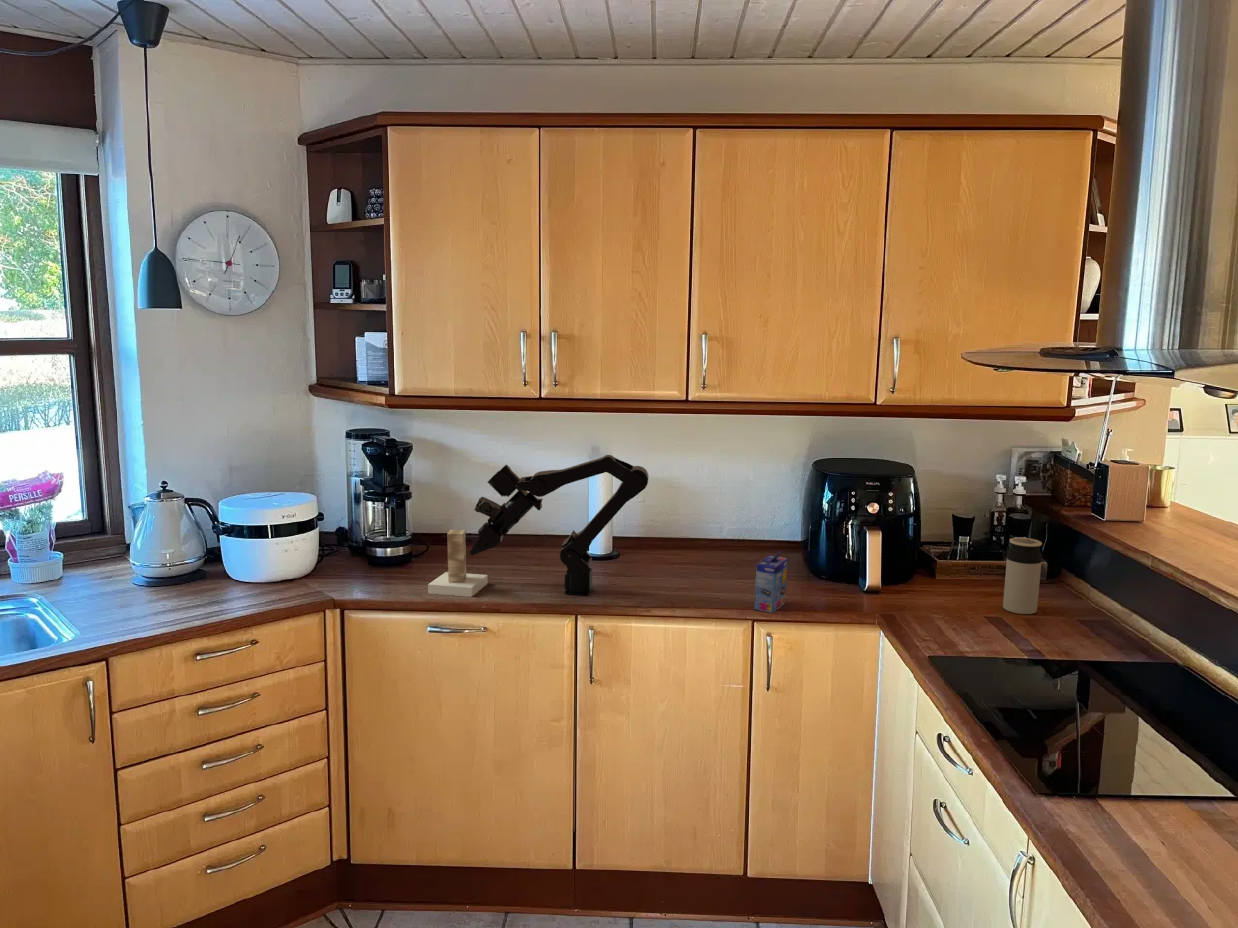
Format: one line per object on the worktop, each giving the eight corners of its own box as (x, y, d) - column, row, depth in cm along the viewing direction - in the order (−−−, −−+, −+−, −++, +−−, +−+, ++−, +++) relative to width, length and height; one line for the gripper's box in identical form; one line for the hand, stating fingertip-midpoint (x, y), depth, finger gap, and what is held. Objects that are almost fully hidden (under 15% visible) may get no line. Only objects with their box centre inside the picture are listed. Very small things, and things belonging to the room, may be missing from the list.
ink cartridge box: (774, 614, 227) (776, 557, 225) (753, 610, 230) (755, 554, 228) (786, 603, 236) (789, 548, 234) (766, 599, 239) (768, 545, 236)
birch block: (466, 576, 247) (465, 529, 245) (463, 582, 242) (462, 533, 240) (451, 576, 247) (450, 529, 245) (448, 582, 242) (447, 533, 240)
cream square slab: (487, 585, 249) (487, 574, 249) (471, 598, 238) (471, 587, 237) (446, 582, 252) (446, 571, 251) (428, 595, 240) (428, 584, 240)
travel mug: (1025, 617, 227) (1032, 546, 224) (996, 608, 234) (1002, 539, 231) (1043, 611, 232) (1049, 542, 229) (1013, 603, 238) (1019, 535, 235)
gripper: (499, 481, 249) (460, 520, 251) (485, 494, 231) (443, 536, 233) (528, 509, 250) (489, 548, 252) (517, 525, 231) (475, 567, 234)
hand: (474, 549), depth 243 cm, fingers open, 9 cm apart
